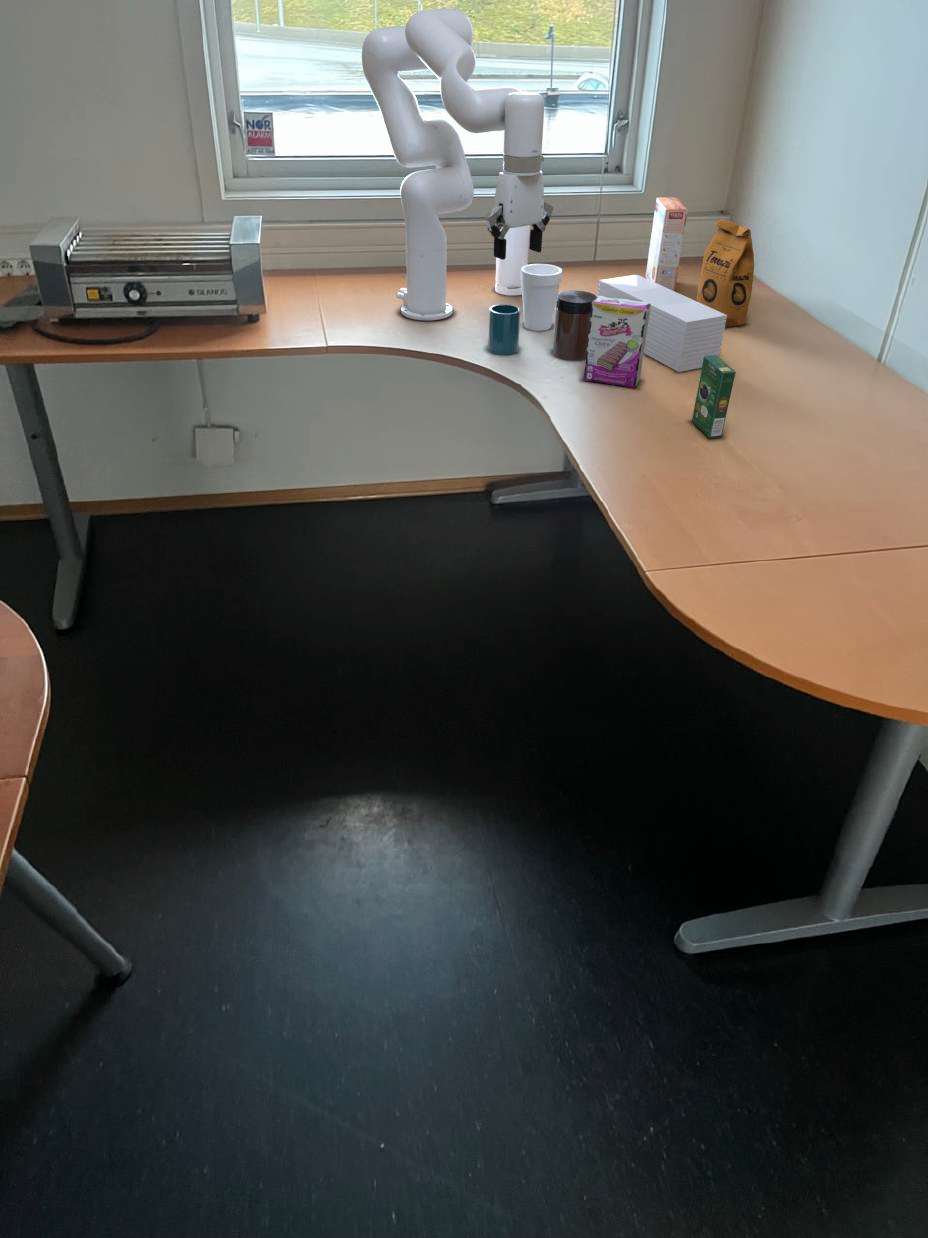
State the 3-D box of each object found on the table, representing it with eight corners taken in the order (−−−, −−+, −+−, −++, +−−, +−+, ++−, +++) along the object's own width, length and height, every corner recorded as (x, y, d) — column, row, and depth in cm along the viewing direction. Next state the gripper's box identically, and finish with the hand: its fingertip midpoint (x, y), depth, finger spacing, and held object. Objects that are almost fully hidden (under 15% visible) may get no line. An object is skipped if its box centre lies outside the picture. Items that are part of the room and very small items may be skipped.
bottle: (506, 283, 243) (511, 168, 227) (532, 289, 239) (539, 172, 223) (489, 291, 238) (493, 173, 221) (515, 297, 234) (521, 178, 217)
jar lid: (548, 307, 196) (549, 296, 195) (570, 298, 201) (571, 287, 200) (582, 316, 192) (583, 305, 190) (603, 306, 197) (604, 295, 196)
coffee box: (723, 438, 169) (737, 370, 161) (709, 439, 168) (722, 371, 161) (704, 420, 175) (717, 353, 167) (690, 421, 175) (702, 354, 167)
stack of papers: (717, 364, 199) (727, 314, 192) (678, 372, 195) (686, 321, 188) (631, 319, 222) (637, 274, 215) (594, 326, 217) (599, 279, 211)
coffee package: (716, 330, 217) (734, 232, 204) (688, 313, 226) (704, 218, 213) (751, 326, 220) (771, 229, 206) (723, 310, 229) (740, 216, 216)
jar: (545, 354, 202) (549, 300, 195) (566, 344, 207) (570, 291, 200) (577, 363, 198) (582, 308, 191) (598, 352, 203) (603, 299, 196)
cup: (482, 350, 203) (483, 309, 198) (500, 342, 208) (501, 302, 202) (506, 357, 200) (508, 316, 195) (523, 349, 204) (526, 308, 199)
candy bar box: (582, 381, 190) (590, 301, 180) (588, 373, 194) (596, 294, 184) (636, 389, 187) (647, 308, 177) (640, 380, 191) (651, 301, 181)
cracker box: (675, 295, 238) (688, 209, 225) (652, 294, 238) (664, 208, 225) (666, 279, 249) (678, 196, 237) (644, 278, 249) (655, 195, 237)
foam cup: (554, 334, 212) (559, 276, 205) (515, 330, 214) (518, 273, 206) (559, 321, 220) (564, 265, 212) (521, 317, 221) (524, 262, 214)
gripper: (542, 156, 188) (537, 244, 198) (475, 165, 179) (473, 256, 189) (567, 162, 183) (560, 252, 193) (499, 172, 175) (496, 264, 185)
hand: (517, 254), depth 191 cm, fingers open, 9 cm apart
